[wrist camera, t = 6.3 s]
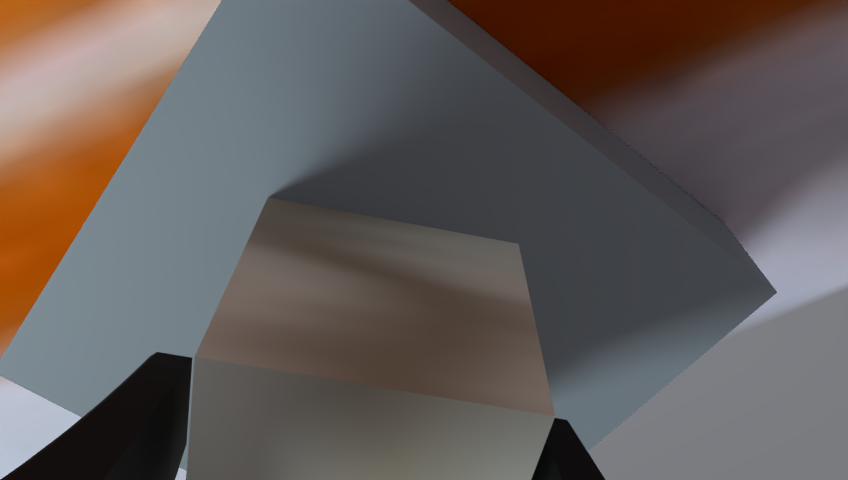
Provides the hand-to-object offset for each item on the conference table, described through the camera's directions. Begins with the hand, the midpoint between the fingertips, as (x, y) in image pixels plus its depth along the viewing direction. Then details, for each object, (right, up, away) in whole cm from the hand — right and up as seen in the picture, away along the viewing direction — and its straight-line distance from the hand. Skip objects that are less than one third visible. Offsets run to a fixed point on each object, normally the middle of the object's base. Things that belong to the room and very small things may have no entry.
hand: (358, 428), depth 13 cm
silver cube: (0, +2, +2) cm, 3 cm away
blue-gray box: (0, +3, +5) cm, 6 cm away
